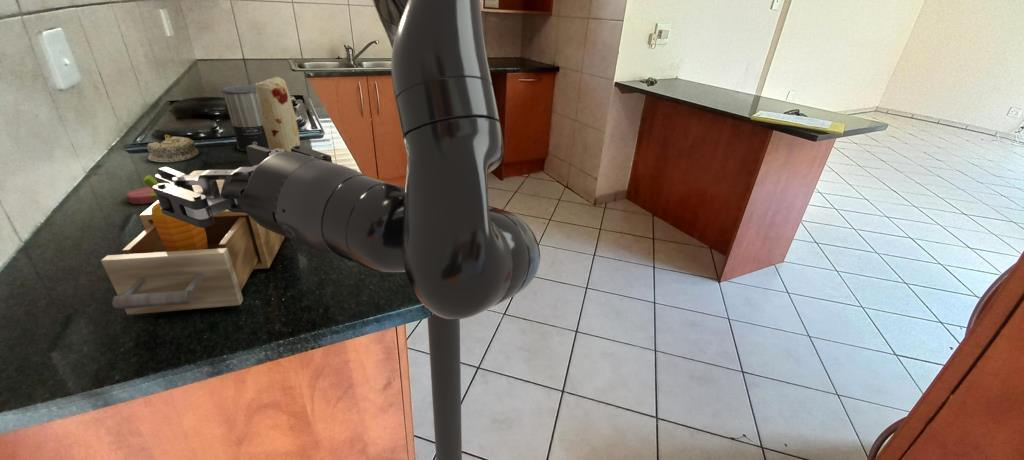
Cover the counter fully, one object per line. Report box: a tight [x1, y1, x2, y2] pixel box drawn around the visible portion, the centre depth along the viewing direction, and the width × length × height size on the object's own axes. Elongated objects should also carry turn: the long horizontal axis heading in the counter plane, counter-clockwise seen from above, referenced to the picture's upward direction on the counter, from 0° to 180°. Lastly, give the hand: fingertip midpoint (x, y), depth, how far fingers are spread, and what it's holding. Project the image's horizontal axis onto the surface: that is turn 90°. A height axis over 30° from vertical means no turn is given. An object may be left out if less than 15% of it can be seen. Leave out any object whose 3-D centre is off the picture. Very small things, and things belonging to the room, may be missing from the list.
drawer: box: [100, 215, 260, 316], centre depth 55 cm, size 20×12×8 cm, turn 12°
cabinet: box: [139, 169, 286, 270], centre depth 66 cm, size 17×14×10 cm
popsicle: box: [126, 186, 158, 205], centre depth 83 cm, size 5×2×15 cm
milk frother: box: [219, 84, 269, 152], centre depth 111 cm, size 14×16×15 cm
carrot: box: [143, 174, 208, 252], centre depth 53 cm, size 5×5×15 cm
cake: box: [146, 134, 200, 163], centre depth 101 cm, size 10×10×5 cm
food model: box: [255, 76, 301, 152], centre depth 94 cm, size 10×7×20 cm
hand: (210, 165), depth 44 cm, fingers open, 8 cm apart
